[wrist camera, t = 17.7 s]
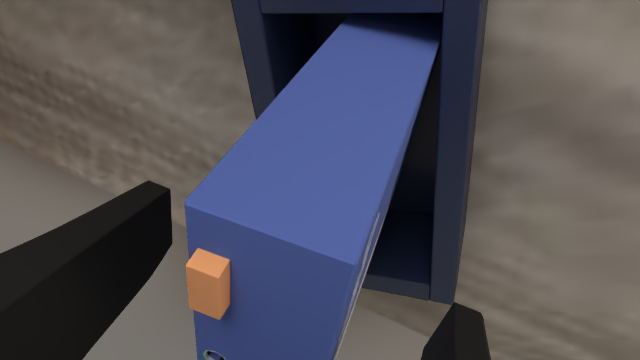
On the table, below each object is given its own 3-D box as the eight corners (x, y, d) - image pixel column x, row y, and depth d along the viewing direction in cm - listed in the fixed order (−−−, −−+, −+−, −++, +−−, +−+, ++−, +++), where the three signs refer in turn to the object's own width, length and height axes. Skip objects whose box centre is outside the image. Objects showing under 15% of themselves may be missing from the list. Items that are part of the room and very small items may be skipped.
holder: (323, 206, 23) (288, 274, 20) (288, -54, 16) (225, -19, 13) (464, 226, 21) (453, 306, 18) (494, -65, 14) (484, -27, 11)
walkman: (372, -14, 16) (166, 216, 7) (454, 6, 15) (351, 284, 6) (336, 166, 21) (193, 434, 12) (396, 186, 20) (294, 481, 11)
